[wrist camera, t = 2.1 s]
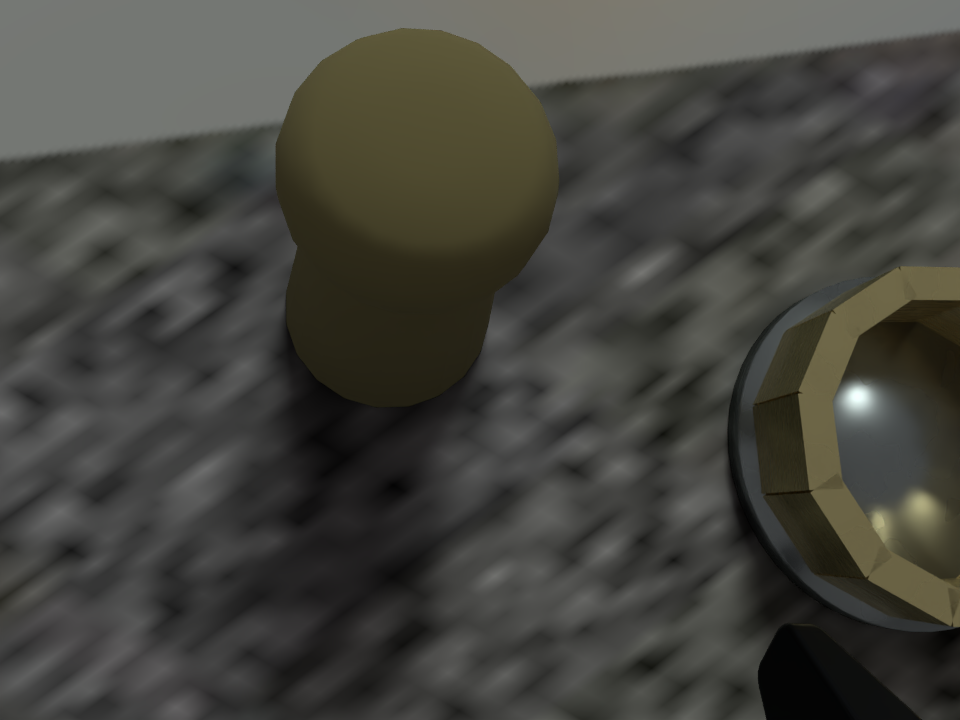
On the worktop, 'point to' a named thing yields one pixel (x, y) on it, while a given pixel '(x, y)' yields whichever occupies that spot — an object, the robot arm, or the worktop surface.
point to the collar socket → (859, 446)
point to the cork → (408, 209)
